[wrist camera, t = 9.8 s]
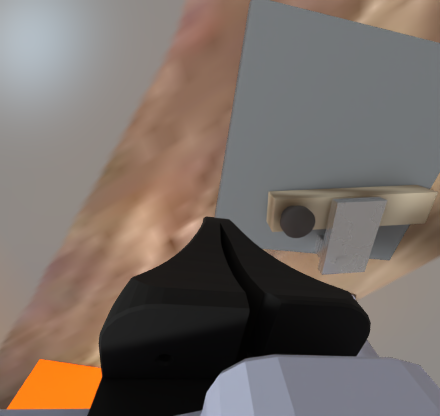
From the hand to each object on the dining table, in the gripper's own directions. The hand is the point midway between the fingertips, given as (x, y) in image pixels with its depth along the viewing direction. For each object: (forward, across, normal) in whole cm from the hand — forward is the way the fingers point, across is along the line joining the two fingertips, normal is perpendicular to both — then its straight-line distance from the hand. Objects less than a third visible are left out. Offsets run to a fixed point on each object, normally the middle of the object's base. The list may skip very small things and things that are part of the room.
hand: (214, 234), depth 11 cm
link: (+8, -12, 0) cm, 15 cm away
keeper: (+8, -12, +2) cm, 15 cm away
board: (+9, -11, -4) cm, 15 cm away
